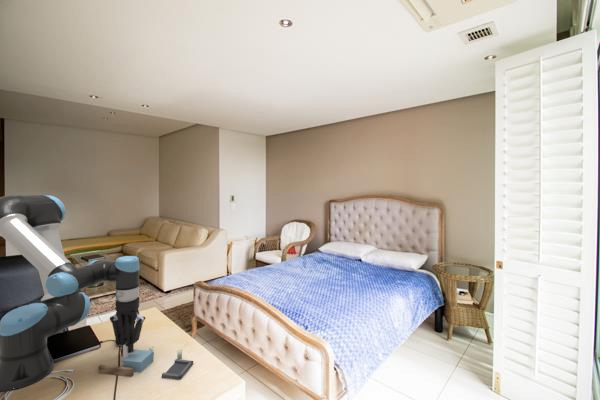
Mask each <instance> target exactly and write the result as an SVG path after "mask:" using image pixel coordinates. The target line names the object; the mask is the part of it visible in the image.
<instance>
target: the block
mask: <svg viewBox="0 0 600 400" xmlns="http://www.w3.org/2000/svg"><path fill="white" fill-rule="evenodd" d="M153 362H154V355H153V351H149V350H146V349H135V351H134V352H133V353H132V354H130V355H129V356H128V357H127V358H125V359H124V360H123V359H122V367H127V368H134V373H143V371H144V370H146V368H148V367H149V366H150V365H151V364H152V363H153Z"/></svg>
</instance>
